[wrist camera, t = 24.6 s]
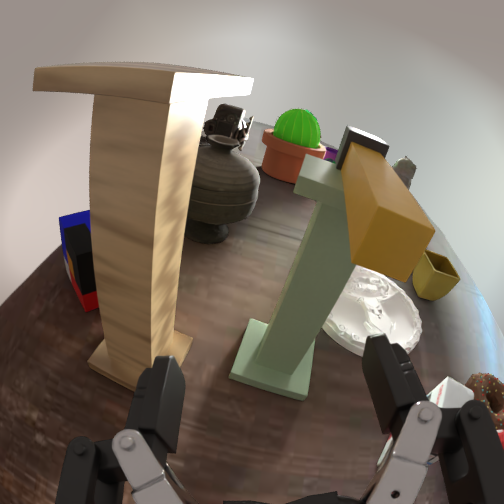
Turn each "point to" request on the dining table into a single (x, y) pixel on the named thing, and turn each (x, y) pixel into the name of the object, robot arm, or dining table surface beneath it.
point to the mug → (330, 155)
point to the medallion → (373, 313)
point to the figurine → (405, 170)
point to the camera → (228, 124)
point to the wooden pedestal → (140, 197)
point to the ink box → (442, 405)
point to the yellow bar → (380, 209)
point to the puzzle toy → (79, 257)
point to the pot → (220, 190)
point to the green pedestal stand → (302, 291)
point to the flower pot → (434, 276)
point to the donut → (489, 395)
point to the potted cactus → (291, 144)
